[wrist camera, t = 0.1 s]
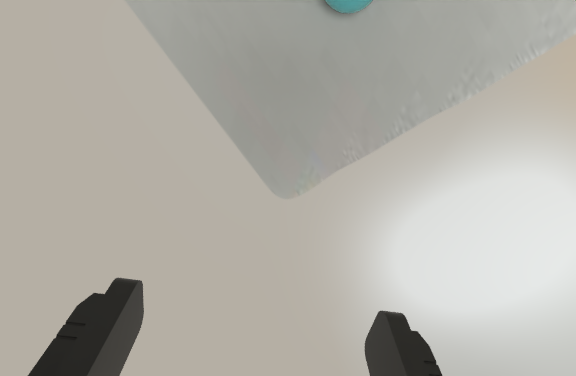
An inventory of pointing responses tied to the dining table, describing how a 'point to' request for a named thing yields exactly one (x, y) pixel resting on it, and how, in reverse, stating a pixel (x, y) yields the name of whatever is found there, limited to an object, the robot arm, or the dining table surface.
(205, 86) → the dining table surface
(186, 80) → the dining table surface
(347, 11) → the teal cue ball
